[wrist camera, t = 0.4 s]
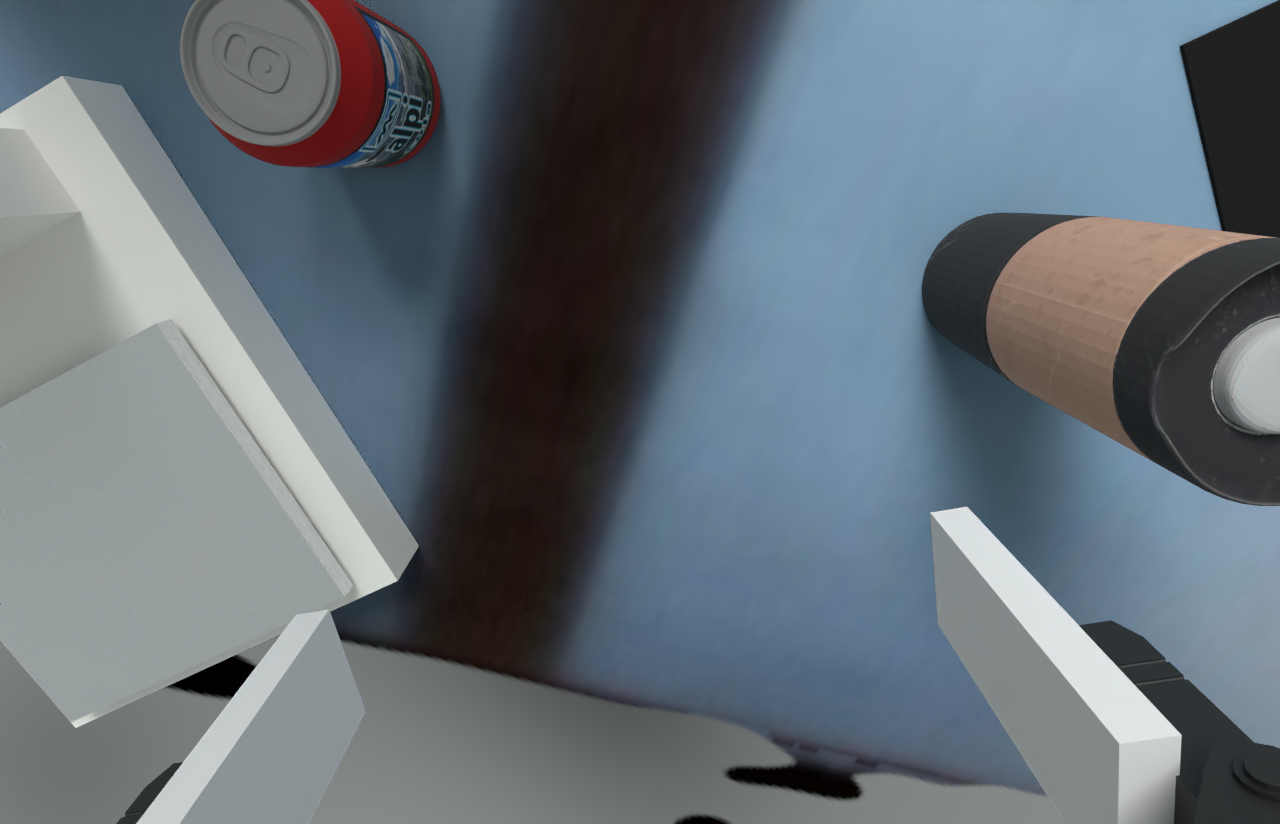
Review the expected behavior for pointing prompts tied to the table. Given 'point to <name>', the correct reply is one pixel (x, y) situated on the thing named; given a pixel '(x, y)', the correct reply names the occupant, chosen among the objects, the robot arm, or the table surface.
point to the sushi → (1240, 117)
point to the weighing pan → (143, 527)
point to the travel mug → (1129, 334)
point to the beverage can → (310, 81)
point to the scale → (164, 311)
